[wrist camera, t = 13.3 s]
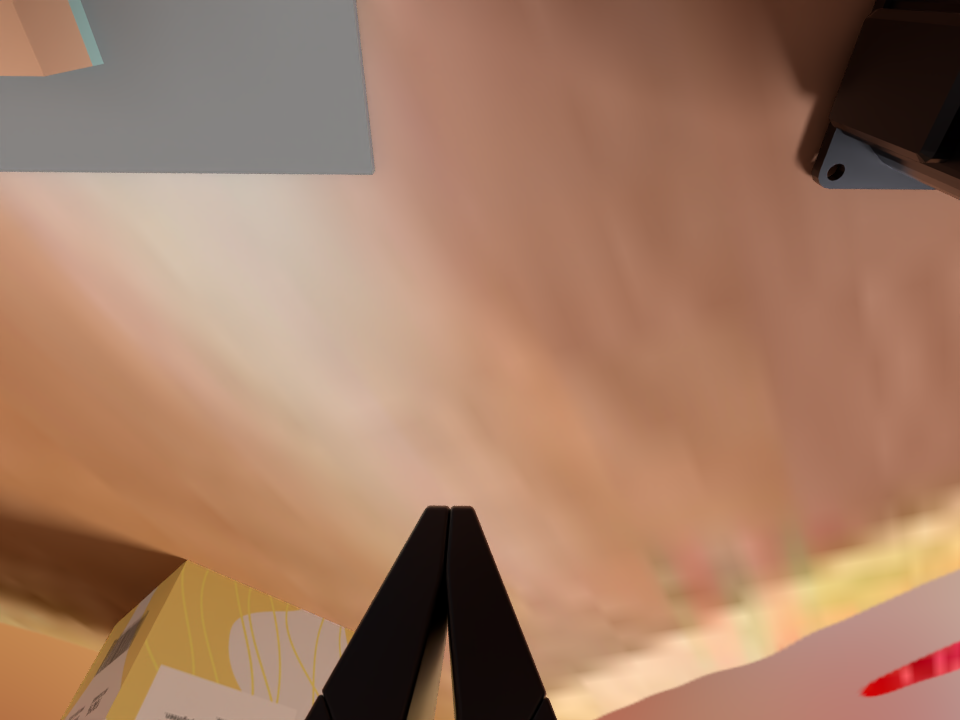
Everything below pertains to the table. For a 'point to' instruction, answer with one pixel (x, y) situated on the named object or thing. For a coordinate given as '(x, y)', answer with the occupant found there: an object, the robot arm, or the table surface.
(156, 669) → the pasta box
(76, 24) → the tile
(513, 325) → the table surface
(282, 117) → the mat
